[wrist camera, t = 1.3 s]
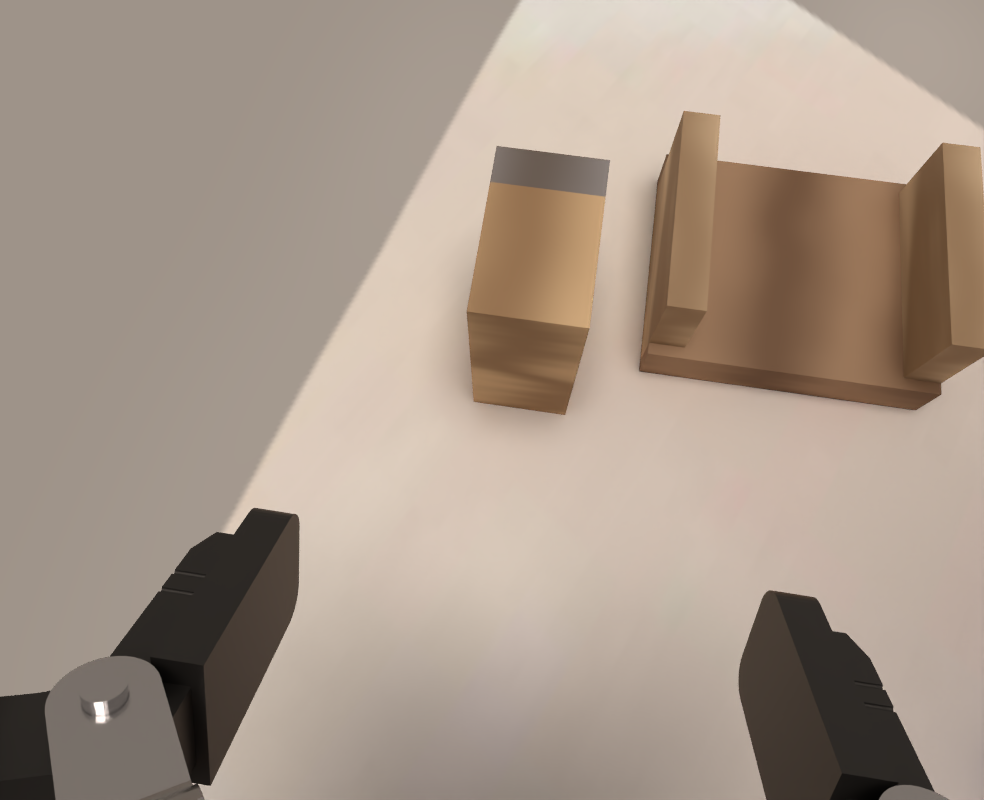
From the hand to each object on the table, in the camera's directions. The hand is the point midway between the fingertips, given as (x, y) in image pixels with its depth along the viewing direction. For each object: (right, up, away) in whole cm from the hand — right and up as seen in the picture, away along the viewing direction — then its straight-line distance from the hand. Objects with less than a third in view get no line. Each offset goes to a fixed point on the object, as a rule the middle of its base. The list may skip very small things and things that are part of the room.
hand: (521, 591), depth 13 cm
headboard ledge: (+13, +8, +22) cm, 27 cm away
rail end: (+1, +5, +21) cm, 22 cm away
